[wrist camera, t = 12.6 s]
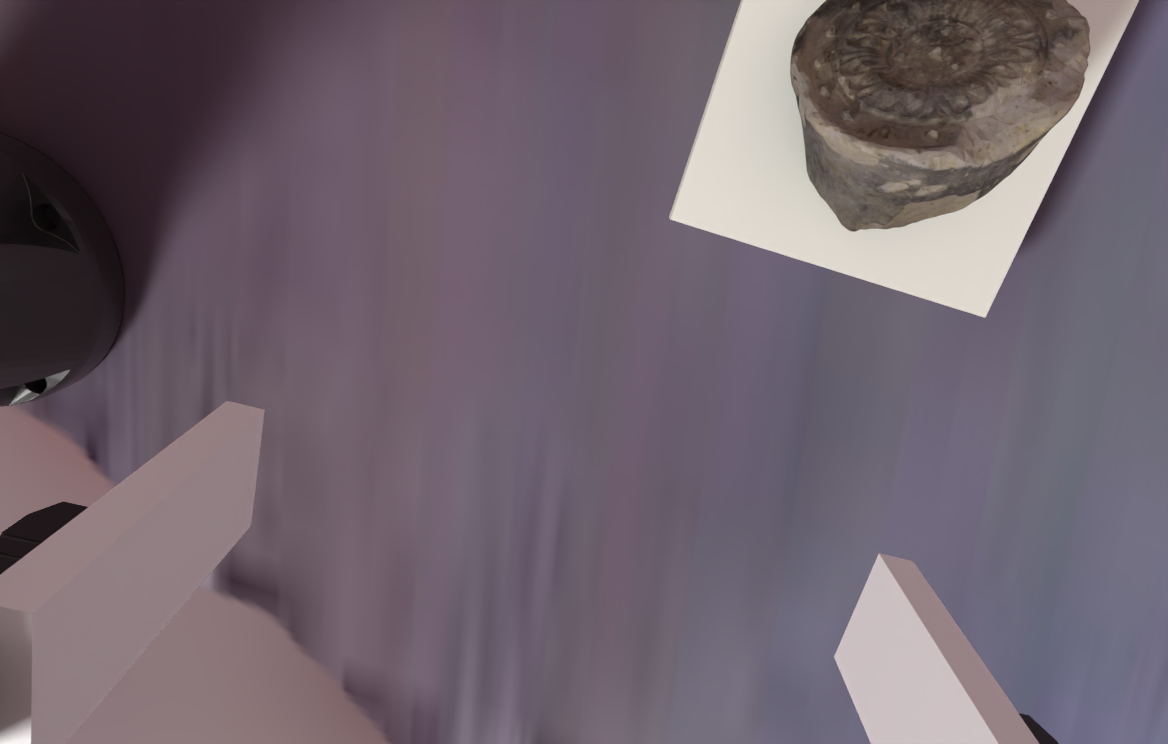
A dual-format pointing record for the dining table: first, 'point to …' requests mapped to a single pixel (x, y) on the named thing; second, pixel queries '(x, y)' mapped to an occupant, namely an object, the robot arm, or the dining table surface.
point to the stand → (805, 221)
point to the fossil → (929, 99)
